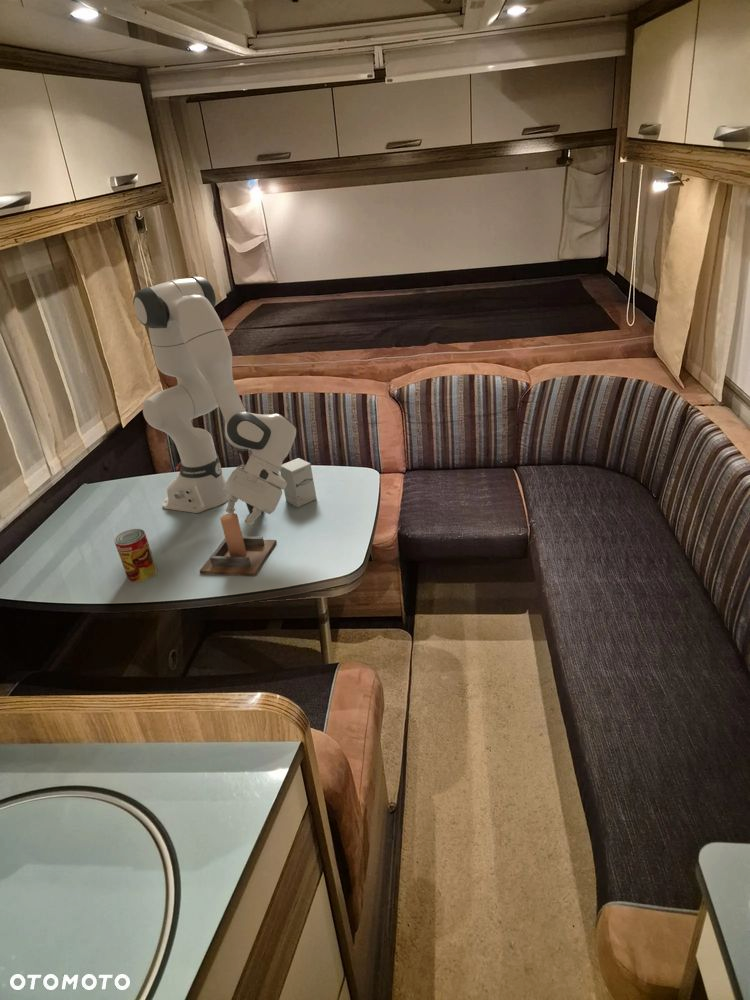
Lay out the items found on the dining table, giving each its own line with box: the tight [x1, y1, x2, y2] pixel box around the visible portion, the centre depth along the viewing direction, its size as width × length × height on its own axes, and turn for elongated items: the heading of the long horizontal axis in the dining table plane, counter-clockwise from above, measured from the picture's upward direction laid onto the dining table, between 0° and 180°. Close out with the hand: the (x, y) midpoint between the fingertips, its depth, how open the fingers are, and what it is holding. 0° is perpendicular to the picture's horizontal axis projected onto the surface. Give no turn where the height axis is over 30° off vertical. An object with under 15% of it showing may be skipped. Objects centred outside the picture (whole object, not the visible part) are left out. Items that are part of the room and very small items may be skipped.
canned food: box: [114, 528, 158, 583], centre depth 172 cm, size 8×8×12 cm
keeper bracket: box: [199, 535, 277, 577], centre depth 175 cm, size 16×16×4 cm
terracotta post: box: [220, 512, 247, 557], centre depth 173 cm, size 4×4×12 cm
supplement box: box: [279, 457, 317, 508], centre depth 199 cm, size 7×7×13 cm
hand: (238, 518), depth 172 cm, fingers open, 8 cm apart
